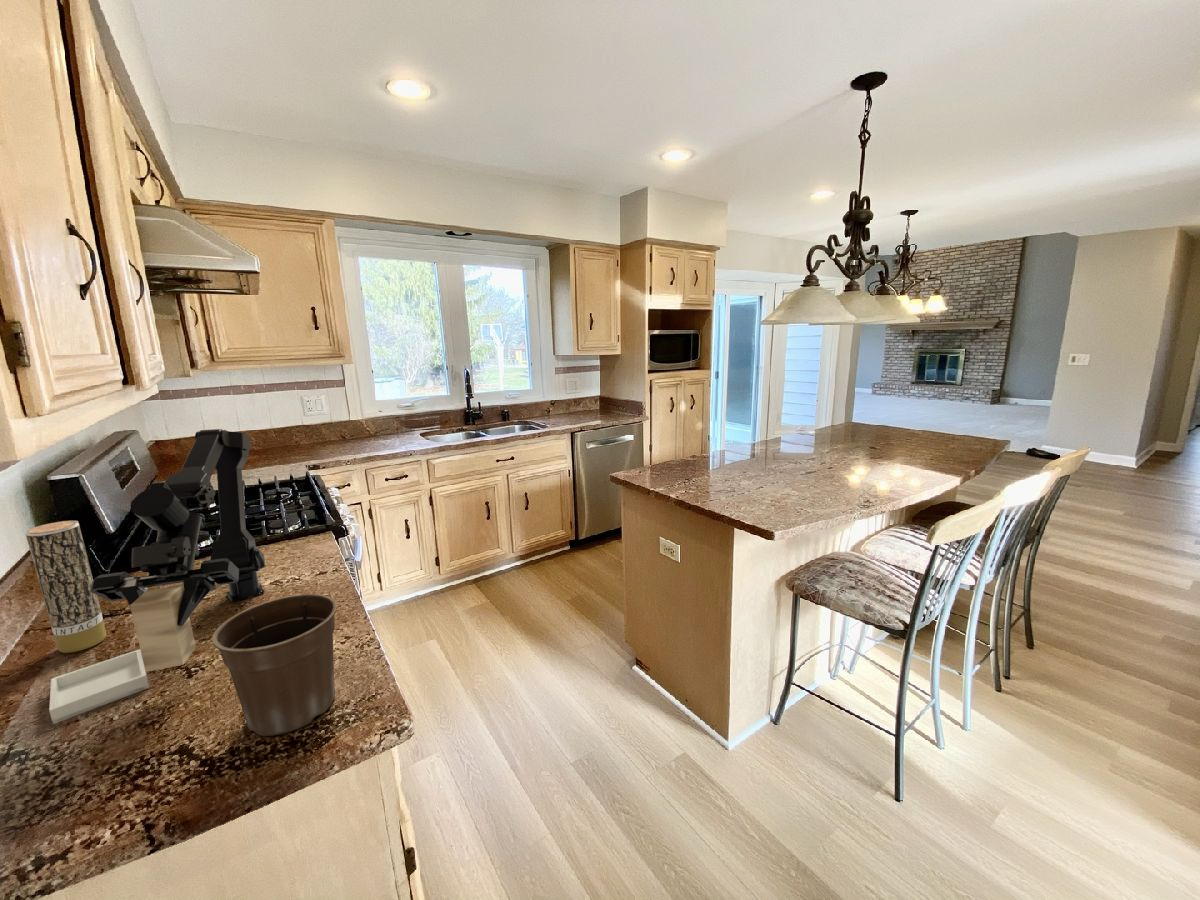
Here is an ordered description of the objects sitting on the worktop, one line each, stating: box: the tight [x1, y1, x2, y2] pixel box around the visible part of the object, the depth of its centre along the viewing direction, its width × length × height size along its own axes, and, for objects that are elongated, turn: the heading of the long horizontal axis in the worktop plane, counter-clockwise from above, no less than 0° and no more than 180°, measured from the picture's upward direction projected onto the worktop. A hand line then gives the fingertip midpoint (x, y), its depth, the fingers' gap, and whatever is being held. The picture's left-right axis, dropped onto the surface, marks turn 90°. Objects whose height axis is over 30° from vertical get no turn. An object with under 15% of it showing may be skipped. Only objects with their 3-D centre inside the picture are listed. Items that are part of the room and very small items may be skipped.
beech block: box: [129, 585, 197, 672], centre depth 81 cm, size 5×5×12 cm
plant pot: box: [211, 593, 338, 737], centre depth 77 cm, size 16×16×16 cm
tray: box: [48, 648, 150, 725], centre depth 83 cm, size 11×11×2 cm
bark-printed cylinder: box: [25, 520, 107, 654], centre depth 94 cm, size 7×7×25 cm
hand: (159, 628), depth 79 cm, fingers closed on beech block, 5 cm apart
